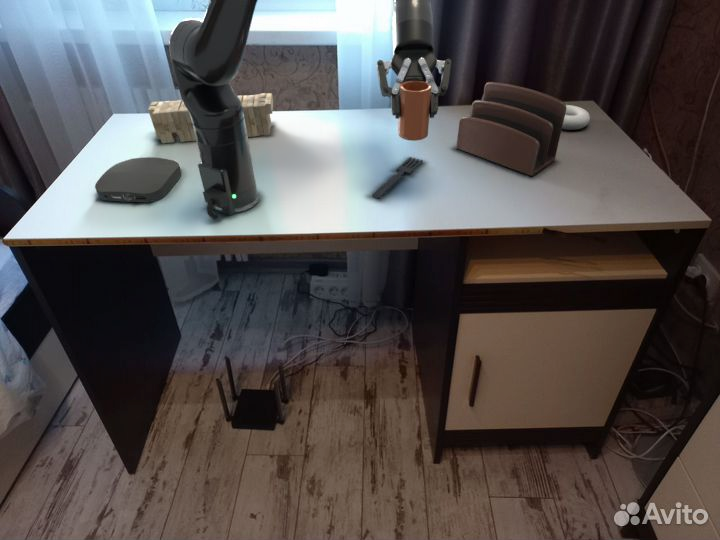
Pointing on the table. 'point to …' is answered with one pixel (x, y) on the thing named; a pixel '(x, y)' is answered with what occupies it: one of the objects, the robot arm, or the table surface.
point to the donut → (575, 118)
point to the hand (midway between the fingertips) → (415, 116)
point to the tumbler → (414, 110)
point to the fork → (398, 176)
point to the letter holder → (513, 127)
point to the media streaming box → (138, 180)
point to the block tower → (177, 120)
